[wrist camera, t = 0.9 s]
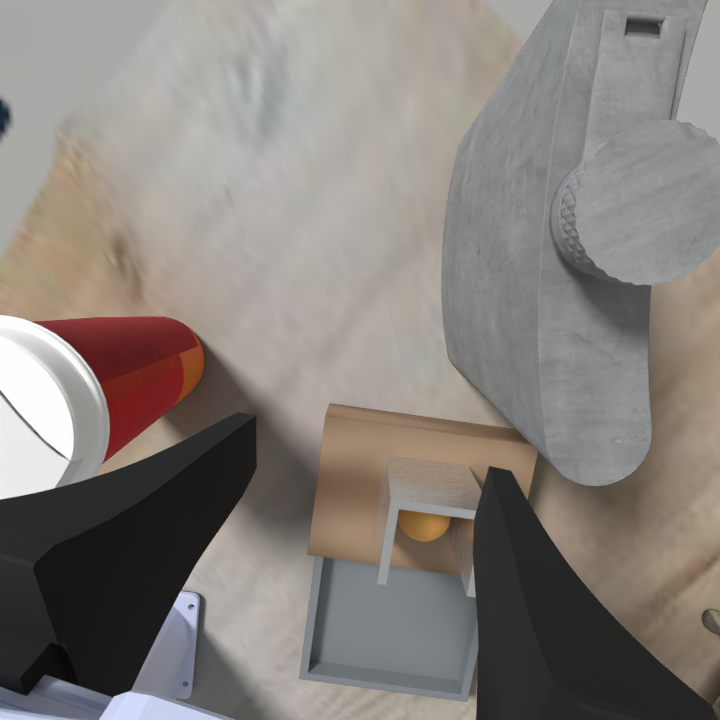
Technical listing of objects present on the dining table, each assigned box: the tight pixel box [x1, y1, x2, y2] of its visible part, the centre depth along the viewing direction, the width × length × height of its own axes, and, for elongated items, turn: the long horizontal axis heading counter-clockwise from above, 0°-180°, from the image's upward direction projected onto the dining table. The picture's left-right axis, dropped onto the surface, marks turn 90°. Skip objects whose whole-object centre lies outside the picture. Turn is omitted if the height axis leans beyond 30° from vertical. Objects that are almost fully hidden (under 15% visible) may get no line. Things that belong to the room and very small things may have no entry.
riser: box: [307, 404, 538, 576], centre depth 31 cm, size 10×14×3 cm
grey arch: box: [376, 454, 482, 597], centre depth 26 cm, size 5×5×6 cm
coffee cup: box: [0, 315, 205, 499], centre depth 24 cm, size 8×8×15 cm
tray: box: [299, 556, 478, 702], centre depth 33 cm, size 11×13×2 cm
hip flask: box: [442, 0, 720, 487], centre depth 20 cm, size 16×4×20 cm, turn 179°
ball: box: [397, 509, 451, 542], centre depth 28 cm, size 3×3×3 cm
